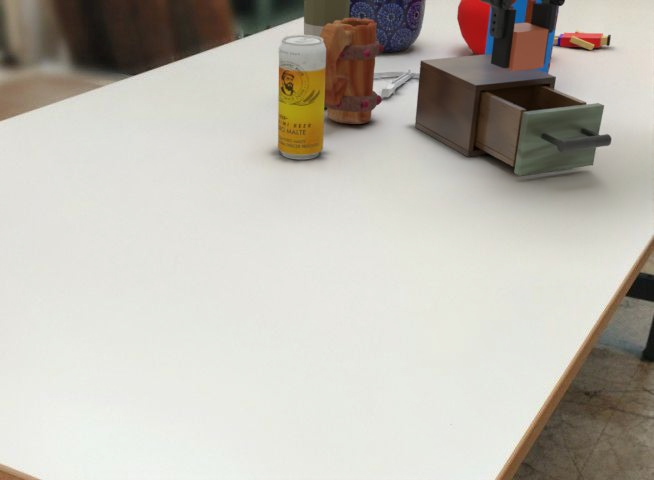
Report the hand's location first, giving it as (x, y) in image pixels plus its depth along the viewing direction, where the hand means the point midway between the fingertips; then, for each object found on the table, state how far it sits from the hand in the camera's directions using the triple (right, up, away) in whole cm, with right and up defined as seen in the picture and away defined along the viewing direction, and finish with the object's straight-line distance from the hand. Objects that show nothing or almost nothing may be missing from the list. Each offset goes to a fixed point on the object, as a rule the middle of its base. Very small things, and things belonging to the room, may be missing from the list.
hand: (517, 63), depth 112 cm
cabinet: (0, -3, +22) cm, 22 cm away
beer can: (-26, -8, +15) cm, 31 cm away
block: (0, 0, 0) cm, 0 cm away
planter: (-9, +26, +70) cm, 76 cm away
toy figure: (+31, +28, +73) cm, 84 cm away
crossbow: (-9, +11, +45) cm, 47 cm away
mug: (-19, -1, +26) cm, 33 cm away
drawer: (+5, -9, +11) cm, 15 cm away
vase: (+14, +23, +66) cm, 71 cm away
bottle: (-22, +5, +36) cm, 42 cm away
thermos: (+11, +11, +46) cm, 49 cm away
